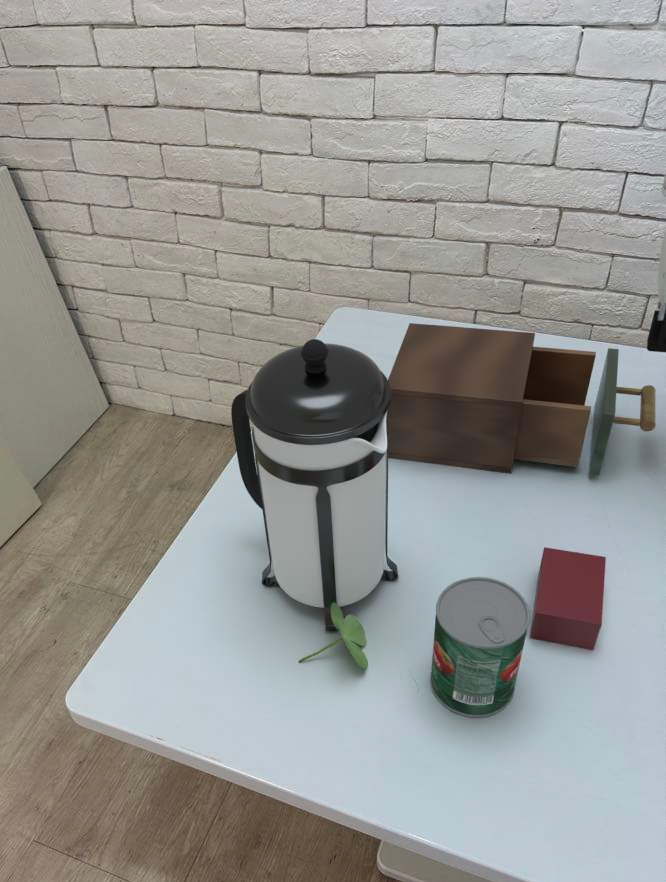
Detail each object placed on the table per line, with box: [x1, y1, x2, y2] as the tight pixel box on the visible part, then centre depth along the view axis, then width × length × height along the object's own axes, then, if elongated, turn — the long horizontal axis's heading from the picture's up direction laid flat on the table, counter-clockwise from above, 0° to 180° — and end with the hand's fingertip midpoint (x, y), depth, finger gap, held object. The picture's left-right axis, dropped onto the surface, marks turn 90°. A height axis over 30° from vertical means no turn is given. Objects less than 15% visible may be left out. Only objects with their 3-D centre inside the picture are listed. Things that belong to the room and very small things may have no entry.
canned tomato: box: [429, 576, 531, 718], centre depth 73 cm, size 8×8×11 cm
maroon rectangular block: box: [529, 546, 607, 651], centre depth 80 cm, size 9×6×4 cm
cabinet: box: [387, 322, 536, 474], centre depth 100 cm, size 16×15×11 cm
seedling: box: [298, 602, 369, 669], centre depth 80 cm, size 7×8×7 cm
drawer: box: [514, 346, 657, 476], centre depth 96 cm, size 19×13×9 cm
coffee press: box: [230, 338, 399, 631], centre depth 78 cm, size 17×16×30 cm
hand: (662, 347), depth 87 cm, fingers closed
